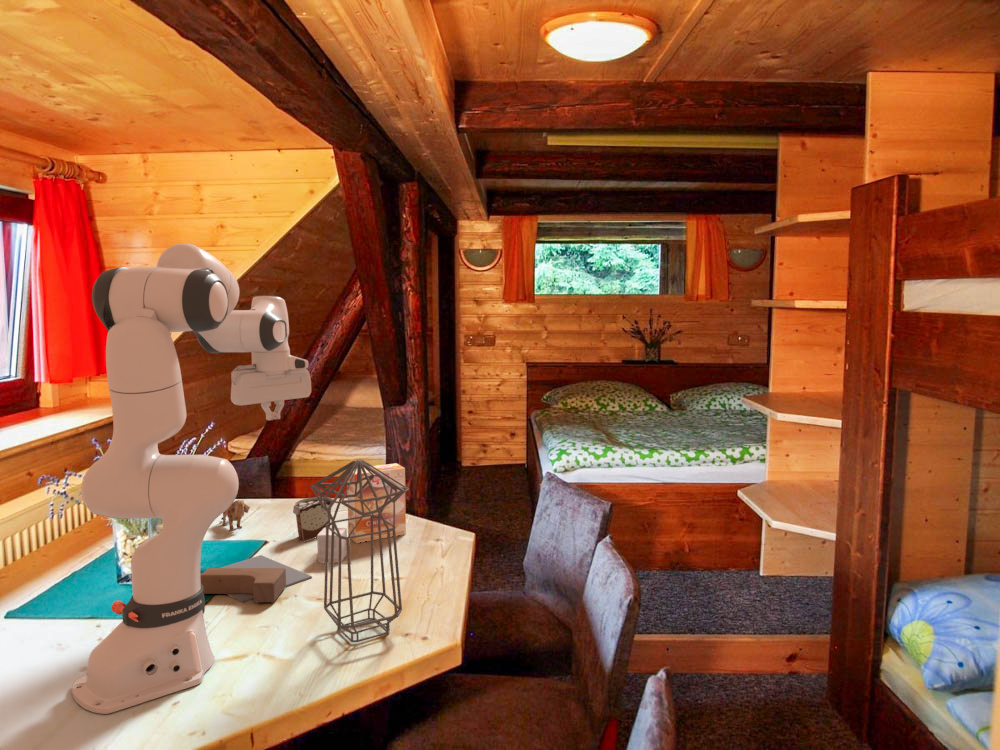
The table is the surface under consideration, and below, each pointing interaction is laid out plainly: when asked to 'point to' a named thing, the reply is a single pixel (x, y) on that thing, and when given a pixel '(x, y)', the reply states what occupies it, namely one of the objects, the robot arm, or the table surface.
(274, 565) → the mat
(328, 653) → the table surface
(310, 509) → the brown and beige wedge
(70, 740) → the table surface
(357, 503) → the coffeecake box
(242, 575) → the wooden block
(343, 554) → the product box
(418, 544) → the table surface
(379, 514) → the geometric lantern
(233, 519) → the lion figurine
